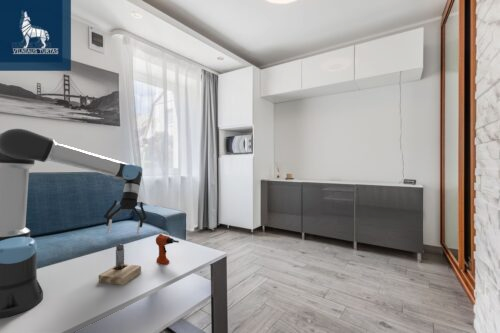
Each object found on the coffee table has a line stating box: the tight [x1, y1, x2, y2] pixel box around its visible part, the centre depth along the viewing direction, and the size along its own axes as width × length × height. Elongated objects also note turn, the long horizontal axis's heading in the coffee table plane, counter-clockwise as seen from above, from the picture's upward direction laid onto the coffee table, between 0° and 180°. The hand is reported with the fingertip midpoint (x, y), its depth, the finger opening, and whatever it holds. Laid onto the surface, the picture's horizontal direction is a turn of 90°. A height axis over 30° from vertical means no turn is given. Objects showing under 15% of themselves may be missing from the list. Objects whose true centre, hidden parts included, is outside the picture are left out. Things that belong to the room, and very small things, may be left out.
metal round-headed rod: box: [115, 243, 125, 270], centre depth 110 cm, size 3×3×14 cm
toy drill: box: [155, 233, 180, 266], centre depth 120 cm, size 5×19×15 cm, turn 53°
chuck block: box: [98, 263, 142, 286], centre depth 107 cm, size 12×12×3 cm
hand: (123, 233), depth 120 cm, fingers open, 13 cm apart
